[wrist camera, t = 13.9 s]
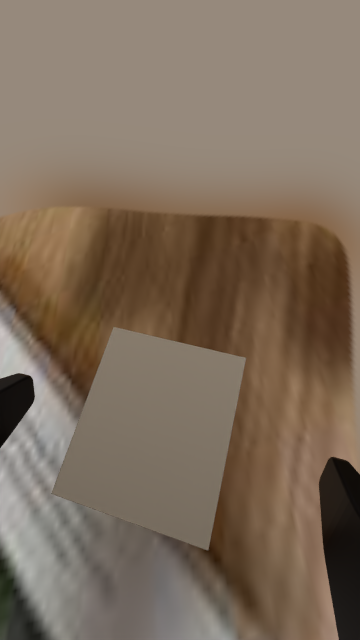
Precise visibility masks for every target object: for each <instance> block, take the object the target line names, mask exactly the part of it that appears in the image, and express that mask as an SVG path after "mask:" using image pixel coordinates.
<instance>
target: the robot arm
mask: <svg viewBox="0 0 360 640" xmlns="http://www.w3.org/2000/svg"><path fill="white" fill-rule="evenodd" d="M34 398H35V395H34V386H33V379H32V377H31V376H29V375H25V374H20V373H18V374H14V375H11V376H8V377H5V378H1V379H0V448H1V446H2V445H3V444H4V443H5V441H6V440H7V439H8V437H9V436H10V434H11V433H12V432H13V430H14V429H15V428H16V426H17V425H18V423H19V422H20V421H21V419H22V418H23V416H24V415H25V414H26V412H27V411H28V410H29V408H30V407H31V405H32V404H33V402H34ZM319 492H320V506H321V521H322V536H323V548H324V555H325V562H326V567H327V573H328V579H329V585H330V591H331V596H332V602H333V608H334V614H335V620H336V625H337V631H338V637H339V640H360V474H359V473H358V472H357V471H356V470H355V469H354V467H353V466H352V465H351V464H350V463H349V462H348V461H346V460H343V459H339V458H335V457H330V458H329V460H328V461H327V464H326V466H325V468H324V470H323V473H322V475H321V477H320V481H319Z"/></svg>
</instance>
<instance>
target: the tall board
mask: <svg viewBox="0 0 360 640" xmlns="http://www.w3.org/2000/svg"><path fill="white" fill-rule="evenodd" d="M245 361H246V358H244V357H240V356H236V355H232V354H227V353H223V352H219V351H215V350H210V349H206V348H202V347H197V346H193V345H189V344H185V343H180V342H176V341H172V340H168V339H163V338H159V337H155V336H151V335H146V334H142V333H138V332H134V331H129V330H125V329H121V328H117V327H113V330H112V333H111V336H110V338H109V341H108V344H107V346H106V349H105V352H104V354H103V357H102V360H101V362H100V365H99V368H98V370H97V373H96V376H95V378H94V381H93V384H92V386H91V389H90V392H89V394H88V397H87V400H86V402H85V405H84V408H83V410H82V413H81V416H80V418H79V421H78V424H77V427H76V429H75V432H74V435H73V437H72V440H71V443H70V445H69V448H68V451H67V453H66V456H65V459H64V461H63V464H62V467H61V469H60V472H59V475H58V477H57V480H56V483H55V485H54V488H53V491H52V493H51V494H53V495H56V496H59V497H62V498H64V499H67V500H70V501H73V502H75V503H78V504H81V505H84V506H86V507H89V508H92V509H95V510H98V511H100V512H103V513H106V514H109V515H111V516H114V517H117V518H120V519H122V520H125V521H128V522H131V523H133V524H136V525H139V526H142V527H144V528H147V529H150V530H153V531H155V532H158V533H161V534H164V535H166V536H169V537H172V538H175V539H177V540H180V541H183V542H186V543H188V544H191V545H194V546H197V547H199V548H202V549H205V550H208V549H209V544H210V539H211V534H212V529H213V524H214V518H215V513H216V508H217V503H218V498H219V493H220V488H221V483H222V478H223V473H224V468H225V462H226V457H227V452H228V447H229V442H230V437H231V432H232V427H233V422H234V417H235V412H236V407H237V401H238V396H239V391H240V386H241V381H242V376H243V371H244V366H245Z"/></svg>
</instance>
